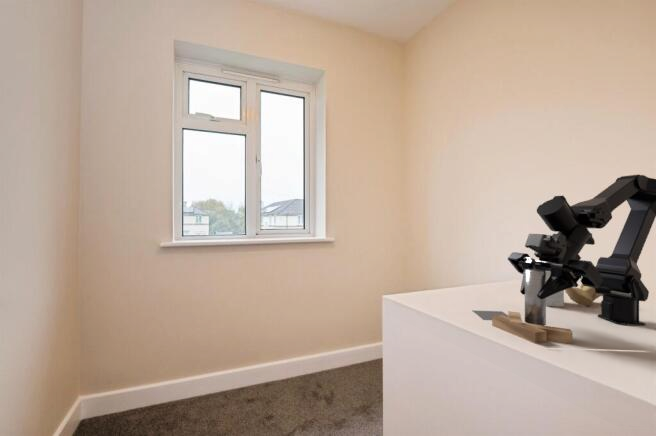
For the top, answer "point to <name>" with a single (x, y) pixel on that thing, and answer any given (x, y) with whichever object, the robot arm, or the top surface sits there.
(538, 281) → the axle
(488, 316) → the mat
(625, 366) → the top surface
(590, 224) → the robot arm
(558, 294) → the small box
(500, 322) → the v block
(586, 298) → the tan curved shape
